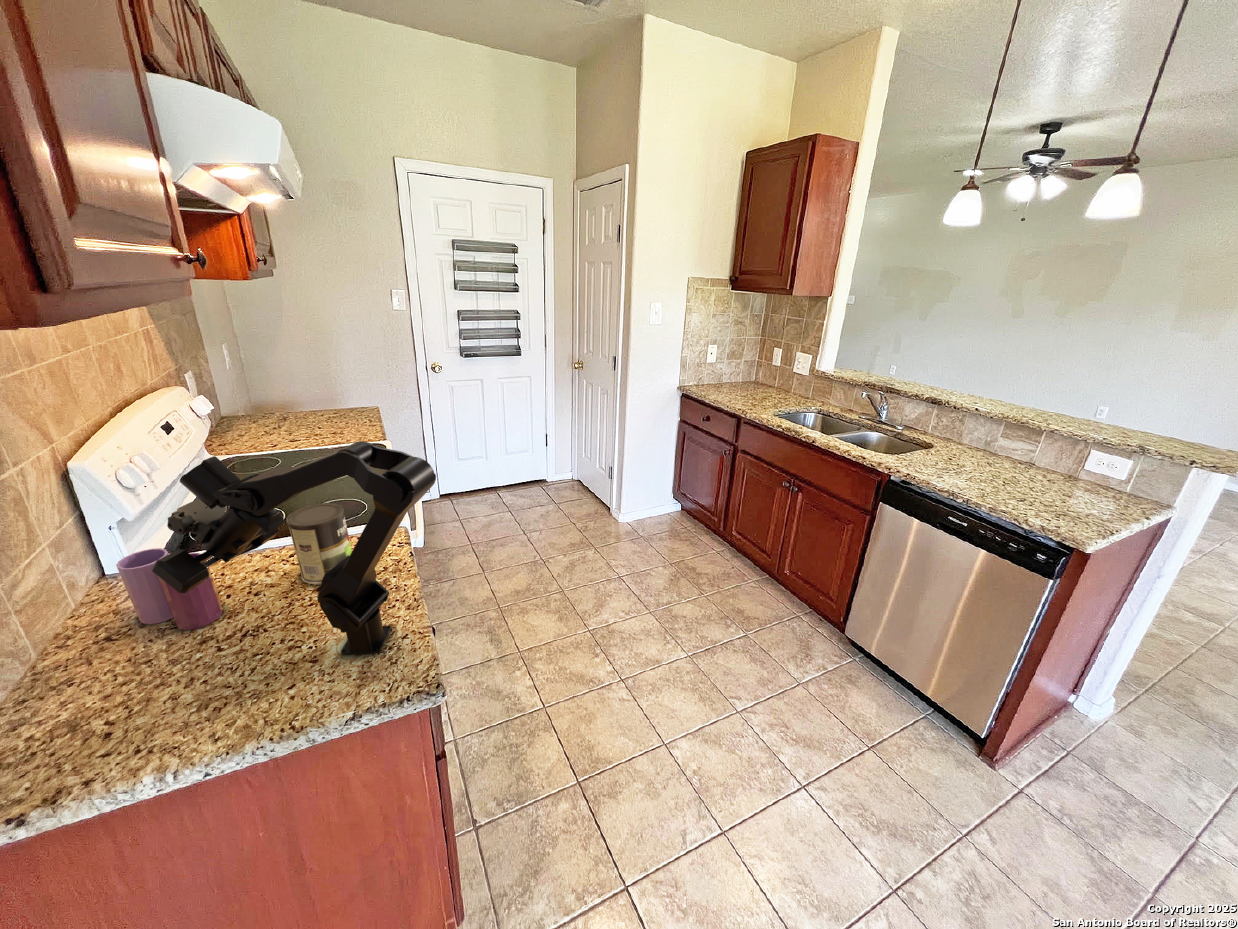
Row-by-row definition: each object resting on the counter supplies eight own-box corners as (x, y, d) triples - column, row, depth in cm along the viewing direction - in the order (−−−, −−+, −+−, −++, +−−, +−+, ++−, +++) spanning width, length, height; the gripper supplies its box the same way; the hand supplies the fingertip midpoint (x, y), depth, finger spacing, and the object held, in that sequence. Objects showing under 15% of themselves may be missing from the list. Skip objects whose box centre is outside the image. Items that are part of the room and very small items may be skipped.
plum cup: (208, 629, 89) (188, 573, 85) (167, 631, 88) (144, 575, 84) (231, 605, 95) (213, 552, 91) (193, 606, 95) (173, 553, 90)
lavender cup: (170, 623, 90) (148, 568, 86) (129, 625, 89) (105, 570, 85) (195, 600, 96) (176, 547, 92) (157, 601, 96) (136, 549, 91)
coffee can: (357, 554, 113) (346, 499, 108) (352, 579, 104) (340, 521, 99) (305, 562, 109) (291, 506, 104) (296, 589, 100) (280, 529, 95)
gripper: (248, 469, 89) (212, 516, 94) (141, 516, 72) (104, 571, 77) (297, 511, 91) (258, 555, 96) (204, 568, 74) (163, 617, 79)
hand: (201, 572), depth 87 cm, fingers open, 9 cm apart
